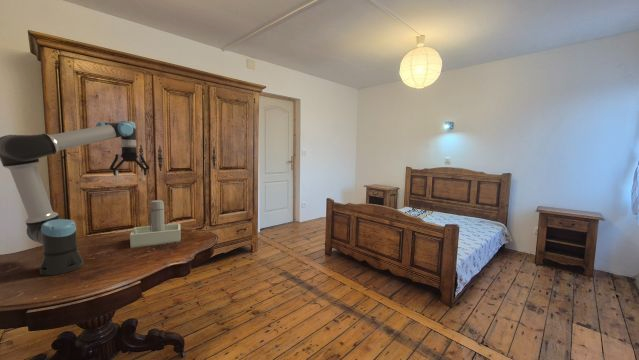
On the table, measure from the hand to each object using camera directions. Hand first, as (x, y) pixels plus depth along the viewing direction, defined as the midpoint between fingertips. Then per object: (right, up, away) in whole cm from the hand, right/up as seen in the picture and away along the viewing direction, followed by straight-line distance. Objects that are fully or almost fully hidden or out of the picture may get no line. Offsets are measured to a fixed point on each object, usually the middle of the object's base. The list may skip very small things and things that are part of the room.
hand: (130, 180), depth 165 cm
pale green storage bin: (+14, -39, +5) cm, 41 cm away
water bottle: (+14, -38, +5) cm, 41 cm away
